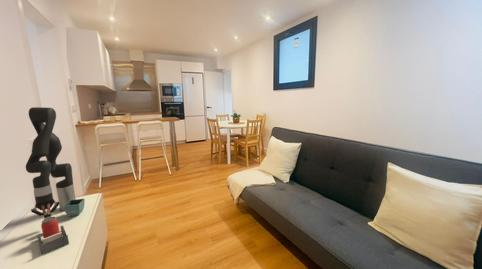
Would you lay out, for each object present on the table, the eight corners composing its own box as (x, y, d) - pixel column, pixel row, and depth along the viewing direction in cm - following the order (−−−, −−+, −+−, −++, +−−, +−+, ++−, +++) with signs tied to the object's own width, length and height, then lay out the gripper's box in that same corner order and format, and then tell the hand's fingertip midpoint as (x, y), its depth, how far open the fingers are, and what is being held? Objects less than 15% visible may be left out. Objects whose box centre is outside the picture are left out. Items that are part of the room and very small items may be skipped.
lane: (38, 239, 111) (36, 231, 110) (63, 230, 119) (62, 222, 118) (40, 255, 99) (39, 246, 99) (69, 243, 108) (67, 235, 107)
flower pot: (86, 209, 141) (84, 198, 140) (80, 216, 133) (79, 204, 132) (71, 211, 139) (69, 200, 137) (65, 218, 131) (62, 206, 129)
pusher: (43, 245, 106) (42, 239, 105) (62, 238, 112) (61, 231, 111) (43, 246, 106) (42, 239, 105) (62, 238, 111) (61, 232, 111)
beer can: (42, 244, 107) (38, 224, 105) (47, 237, 113) (43, 218, 111) (58, 240, 110) (54, 221, 108) (62, 233, 116) (58, 214, 114)
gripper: (57, 187, 125) (61, 213, 128) (26, 195, 115) (31, 222, 118) (59, 191, 120) (63, 217, 123) (27, 199, 111) (32, 227, 113)
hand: (48, 219), depth 120 cm, fingers closed
